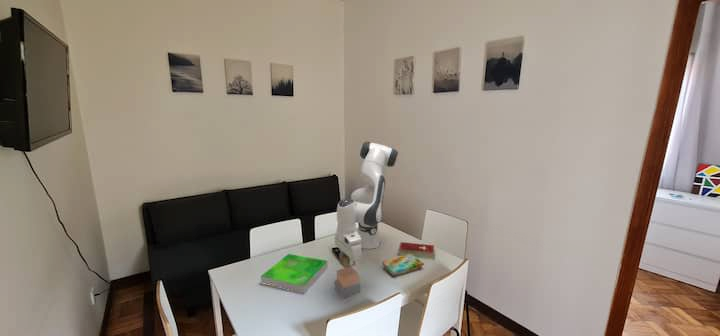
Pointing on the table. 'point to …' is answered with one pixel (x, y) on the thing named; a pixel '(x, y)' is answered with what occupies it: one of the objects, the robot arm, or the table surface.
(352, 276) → the block
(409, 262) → the puzzle game
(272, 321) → the table surface
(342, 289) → the tower base
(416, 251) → the hardcover book
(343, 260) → the walnut block
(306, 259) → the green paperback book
